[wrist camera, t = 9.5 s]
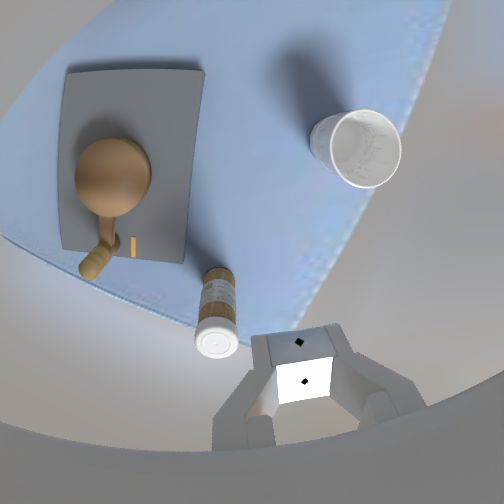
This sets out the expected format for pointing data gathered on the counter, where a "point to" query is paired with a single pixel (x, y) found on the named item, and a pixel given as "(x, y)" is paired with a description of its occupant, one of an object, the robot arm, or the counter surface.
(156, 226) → the stand
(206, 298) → the sprinkles bottle
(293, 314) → the counter surface
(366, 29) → the counter surface
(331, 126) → the white cup
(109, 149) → the dial
